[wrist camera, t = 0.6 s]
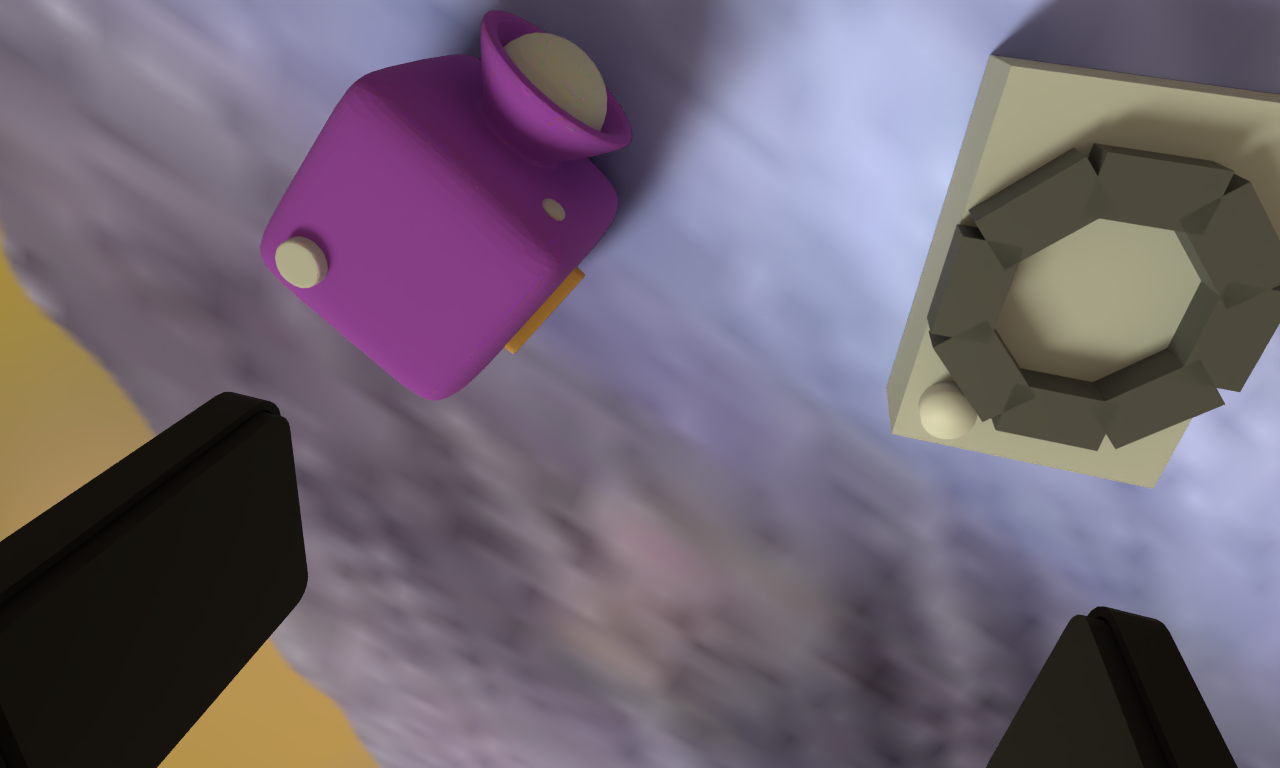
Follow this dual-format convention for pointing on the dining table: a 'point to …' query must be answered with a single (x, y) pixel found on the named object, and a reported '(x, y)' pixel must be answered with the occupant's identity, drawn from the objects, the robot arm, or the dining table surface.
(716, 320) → the dining table surface
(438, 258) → the toy camera
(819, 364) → the dining table surface
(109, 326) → the dining table surface
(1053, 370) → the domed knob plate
